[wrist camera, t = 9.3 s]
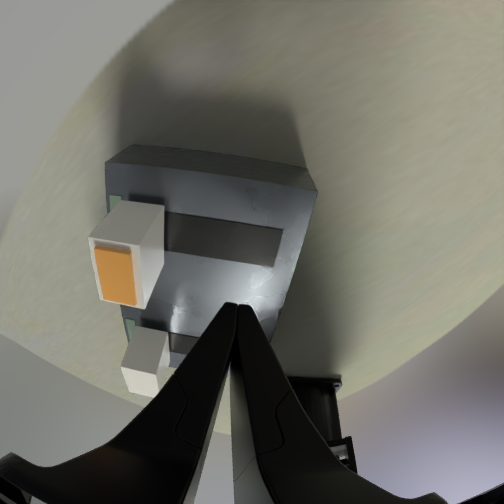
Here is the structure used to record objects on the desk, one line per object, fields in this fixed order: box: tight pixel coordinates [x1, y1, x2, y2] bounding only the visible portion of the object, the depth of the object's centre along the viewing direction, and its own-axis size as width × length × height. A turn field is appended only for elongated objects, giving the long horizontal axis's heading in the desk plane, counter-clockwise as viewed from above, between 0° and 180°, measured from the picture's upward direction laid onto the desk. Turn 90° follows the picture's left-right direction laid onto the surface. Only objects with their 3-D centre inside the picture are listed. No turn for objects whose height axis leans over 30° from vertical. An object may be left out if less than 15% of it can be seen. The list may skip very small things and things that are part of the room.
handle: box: [121, 326, 170, 398], centre depth 16 cm, size 2×3×3 cm, turn 170°
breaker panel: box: [105, 145, 318, 377], centre depth 16 cm, size 9×14×3 cm, turn 171°
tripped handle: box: [88, 200, 164, 309], centre depth 11 cm, size 2×3×3 cm, turn 170°
